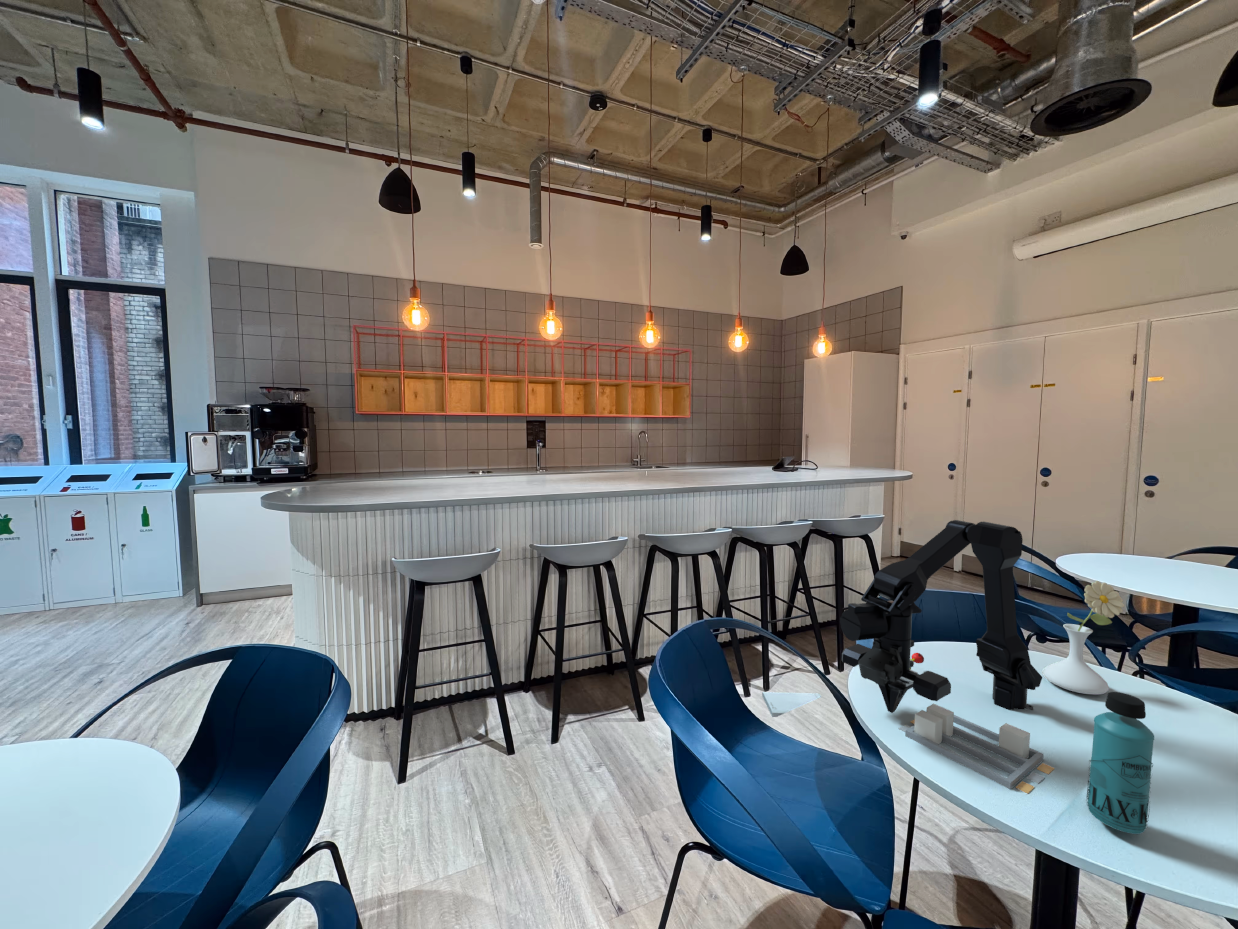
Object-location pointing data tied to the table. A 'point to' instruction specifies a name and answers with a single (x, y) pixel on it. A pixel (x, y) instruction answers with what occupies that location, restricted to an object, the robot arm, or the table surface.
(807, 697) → the pale blue flat piece
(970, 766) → the switch bank
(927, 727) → the tab
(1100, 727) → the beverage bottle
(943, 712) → the tab
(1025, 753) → the tab
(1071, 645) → the flower in vase
